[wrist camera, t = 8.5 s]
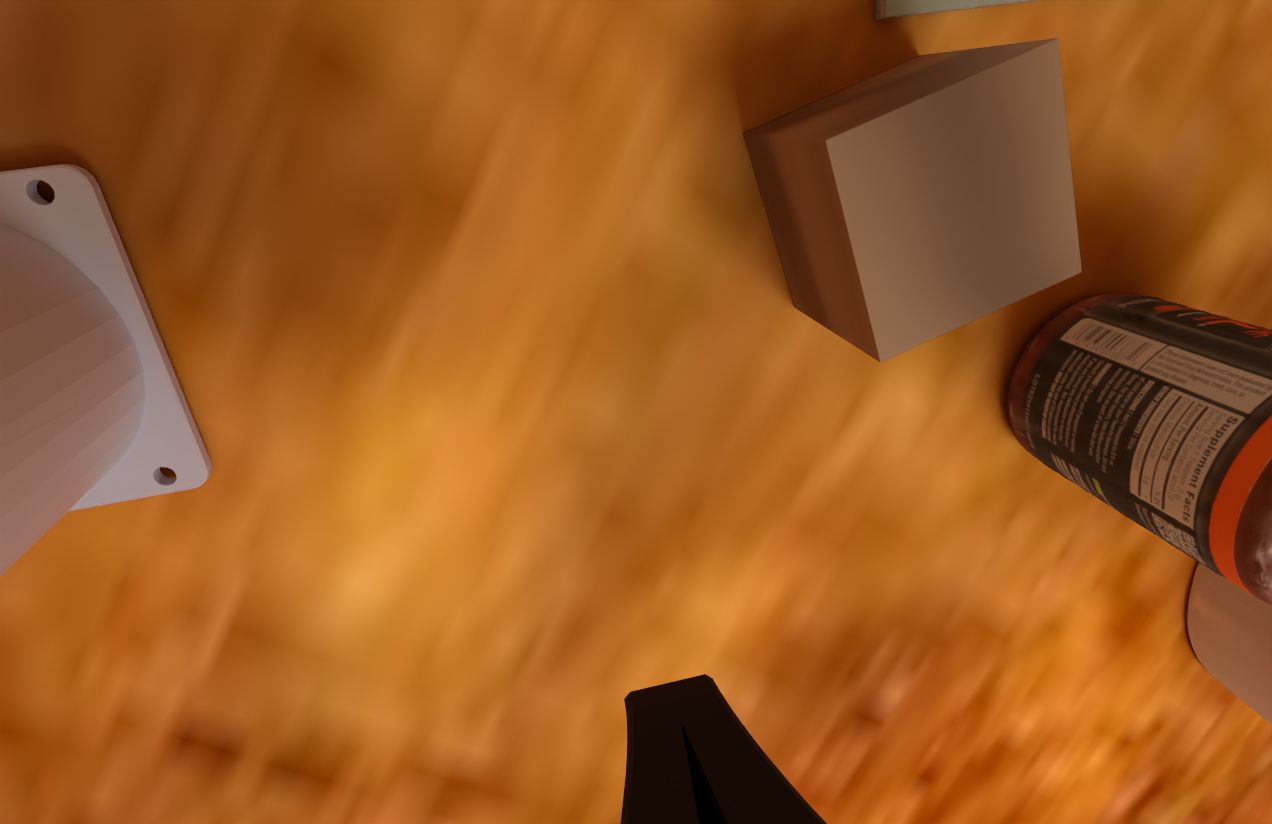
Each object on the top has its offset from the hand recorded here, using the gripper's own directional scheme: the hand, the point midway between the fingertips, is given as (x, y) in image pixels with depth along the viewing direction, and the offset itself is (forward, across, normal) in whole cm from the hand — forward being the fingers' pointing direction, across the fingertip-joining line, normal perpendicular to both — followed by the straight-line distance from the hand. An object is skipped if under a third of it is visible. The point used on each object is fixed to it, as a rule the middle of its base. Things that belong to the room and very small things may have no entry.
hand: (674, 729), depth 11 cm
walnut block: (+11, -8, -6) cm, 15 cm away
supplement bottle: (+11, -16, +1) cm, 19 cm away
